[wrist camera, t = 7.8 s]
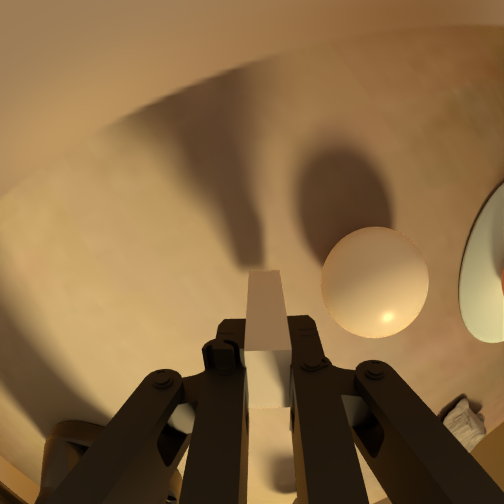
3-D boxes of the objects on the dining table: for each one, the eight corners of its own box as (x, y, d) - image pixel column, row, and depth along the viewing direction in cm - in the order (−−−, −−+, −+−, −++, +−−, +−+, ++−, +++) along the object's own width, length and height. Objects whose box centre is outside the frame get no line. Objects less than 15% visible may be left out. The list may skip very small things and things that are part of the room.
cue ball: (384, 378, 13) (378, 327, 18) (464, 288, 11) (434, 256, 16) (290, 314, 14) (307, 277, 19) (366, 210, 12) (361, 200, 17)
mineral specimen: (375, 463, 26) (380, 495, 22) (458, 393, 22) (474, 427, 18) (413, 468, 27) (420, 496, 23) (490, 404, 22) (505, 433, 18)
